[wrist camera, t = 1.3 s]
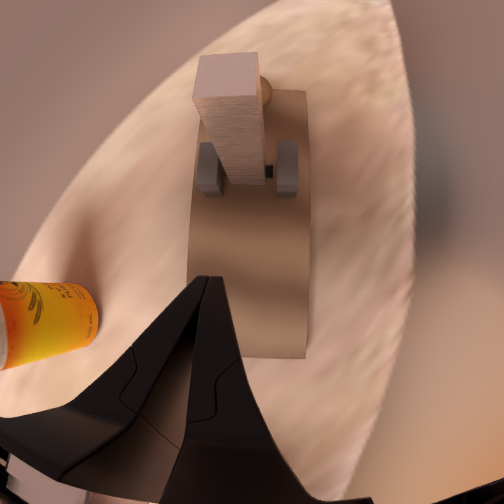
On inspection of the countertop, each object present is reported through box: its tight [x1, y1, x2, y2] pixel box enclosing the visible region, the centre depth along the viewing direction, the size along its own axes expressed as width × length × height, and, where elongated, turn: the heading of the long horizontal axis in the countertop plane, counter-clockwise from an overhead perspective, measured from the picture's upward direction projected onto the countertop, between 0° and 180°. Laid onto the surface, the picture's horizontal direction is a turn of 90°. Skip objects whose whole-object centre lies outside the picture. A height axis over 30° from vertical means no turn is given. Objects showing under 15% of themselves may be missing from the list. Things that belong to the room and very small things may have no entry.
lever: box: [192, 52, 273, 185], centre depth 15 cm, size 2×3×12 cm
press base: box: [187, 76, 310, 359], centre depth 21 cm, size 22×9×5 cm, turn 178°
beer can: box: [0, 281, 98, 371], centre depth 16 cm, size 6×6×15 cm
